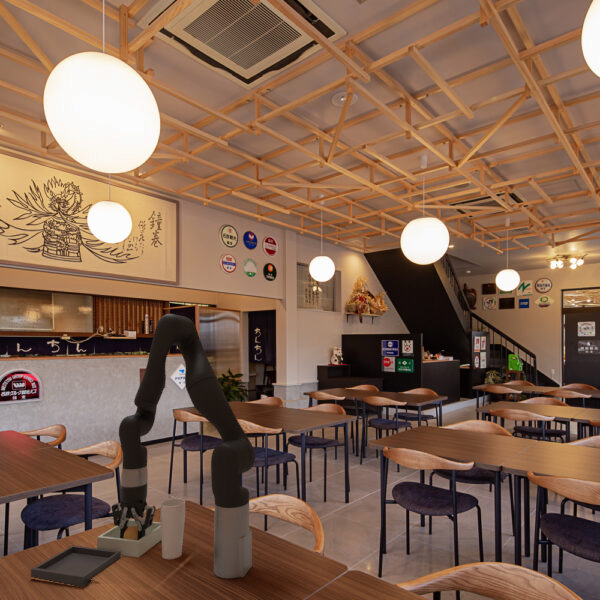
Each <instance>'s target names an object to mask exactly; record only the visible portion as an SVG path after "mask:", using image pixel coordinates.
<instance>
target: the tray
mask: <svg viewBox="0 0 600 600" xmlns="http://www.w3.org/2000/svg"><path fill="white" fill-rule="evenodd" d="M121 557H122V555H121V552H120V551H112V550H105V549H97V547H96V548H95V547H89V546H88V547H87V546H79V545H71V546H69V547H67V548H65V549H64V550H62V551H60V552H58V553H56V554H55V555H54V556H51V557H50V558H48V559H47V560H45V561H43V562H40V564H38V565H36V566H35V567H32V568H31V569H30V578H31V577H34V578H39V579H44V580H49V581H53V582H59V583H64V584H70V585H74V586H78V587H77V588H80V587H82V588H81V589H84V588H85V587H87V586H88V585H89V584H91V583H92V582H94V580H93V579H92V578H93V577H95V576H97V575H98V574H99V573H100V572H102V571H104V570H106V569H107V568H108V567H109V566H110V565H113V563H115V562H117V561H118V560H119V559H121ZM91 581H92V582H91ZM90 582H91V583H90ZM74 586H73V587H74ZM83 587H84V588H83Z"/></svg>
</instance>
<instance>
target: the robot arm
mask: <svg viewBox="0 0 600 600" xmlns="http://www.w3.org/2000/svg"><path fill="white" fill-rule="evenodd" d="M172 346H176V347H177V348H178V350H179V351H180V354H181V356H182V358H183V360H184V364H185V374H184V375H185V376H184V383H185V389H186V392H187V394H188V396H189V399H190V402H191V403H192V406H194V408H195V409H196V411H197V412H198V413H199V414H200V415H201V416H202V417H203V418H204V419H205V420H206V421H207V422H209V423H210V424H211V425H212V426H213V427H214V429H215V430H217V432H218V434H219V436H220V438H221V440H222V442H221V443H219V444H217V445H216V446H215V447H214V448H213V451H212V453H211V457H210V460H211V461H210V473H211V475H210V477H211V491H212V494H213V496H214V497H213V498H214V522H213V523H214V526H213V527H214V529H213V530H214V534H213V573H214V575H215V576H216V577H218V578H222V579H236V578H244V577H246V574H247V573H248V572H249V570H250V569H251V568H252V567H253V561H252V559H253V552H252V551H253V530H252V528H251V529H250V491H249V489H248V488H246V487H244V486H241V481H240V475H241V474H245V473H246V472H249V471H251V469H252V468H253V467H254V465H255V462H256V454H255V453H256V452H255V449H254V446H253V445H252V443H251V442H252V441H250V439H249V437H248V436H247V434H246V432H245V431H244V428H243V427H242V425H241V424H240V422H239V421H238V419H237V417H236V415H235V414H234V413H235V412H234V411H233V409H232V407H231V405H230V403H229V401H228V399H227V397H226V395H225V393H224V392H225V391H224V390H223V388H222V386H221V384H220V380H218V377H217V375H216V373H215V371H214V369H213V367H212V365H211V363H210V361H209V359H208V357H207V355H206V352H205V349H204V347H203V344H202V341H201V338H200V335H199V331H198V330H197V327H196V325H195V323H194V321H193V320H192V319H190V318H189V317H187V316H184V315H178V314H174V313H167V314H164V315H163V316H161V317H160V318H159V320H158V322H157V323H156V326H155V329H154V333H153V337H152V342H151V346H150V348H149V349H150V350H149V355H148V359H147V364H146V367H145V370H144V372H143V373H144V374H143V375H142V376H143V377H142V380H141V382H140V384H139V386H138V389H137V392H136V394H135V397H134V399H133V400H134V401H133V403H134V406H135V407H136V412H135V413H134V414H132V415H127V416H125V417H124V418H123V419H121V421H120V424H119V427H118V437H119V443H120V447H121V451H122V470H121V473H120V474H121V475H120V496H119V497H120V502H116V503H114V504H113V505H111V511H112V513H111V514H112V519H113V525H114V527H115V526H119V528H120V538H121V539H124V533H125V531H126V529H127V528H128V526H127V525H128V522H129V519H132V520H135V523H136V524H137V527H138V537H137V541H138V540H139V539H141V538H142V537H144V536H145V530H146V529H147V528H148V527H150V526H151V525H152V522H154V517H155V513H156V509H157V508H156V505H152V506H151V505H148V503H147V497H148V481H149V480H148V477H149V475H148V474H149V472H148V448H147V446H145V445H142V440H141V437H143V436H147V434H149V433H150V432H151V431H152V429H153V426H154V424H155V420H156V415H157V409H158V404H159V402H160V399H161V397H162V394H163V393H164V389H165V386H166V380H167V377H166V374H167V373H166V363H167V357H168V355H169V352H170V350H171V348H172Z"/></svg>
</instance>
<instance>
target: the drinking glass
mask: <svg viewBox="0 0 600 600" xmlns="http://www.w3.org/2000/svg"><path fill="white" fill-rule="evenodd" d="M159 517H160V518H159V519H160V521H159V522H160V524H161V557H162V559H165V560H174V559H175V560H176V559H177V558H180V557H181V556H182V554H183V541H184V531H185V519H186V501H185V499H183V498H170V499H166V500H163V501H161V502H160V515H159Z"/></svg>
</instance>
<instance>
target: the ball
mask: <svg viewBox="0 0 600 600" xmlns="http://www.w3.org/2000/svg"><path fill="white" fill-rule="evenodd" d="M137 537H138V527H137V526H130V527H129V528H127V529H126V531H125V533H124V539H129V540H137Z"/></svg>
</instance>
